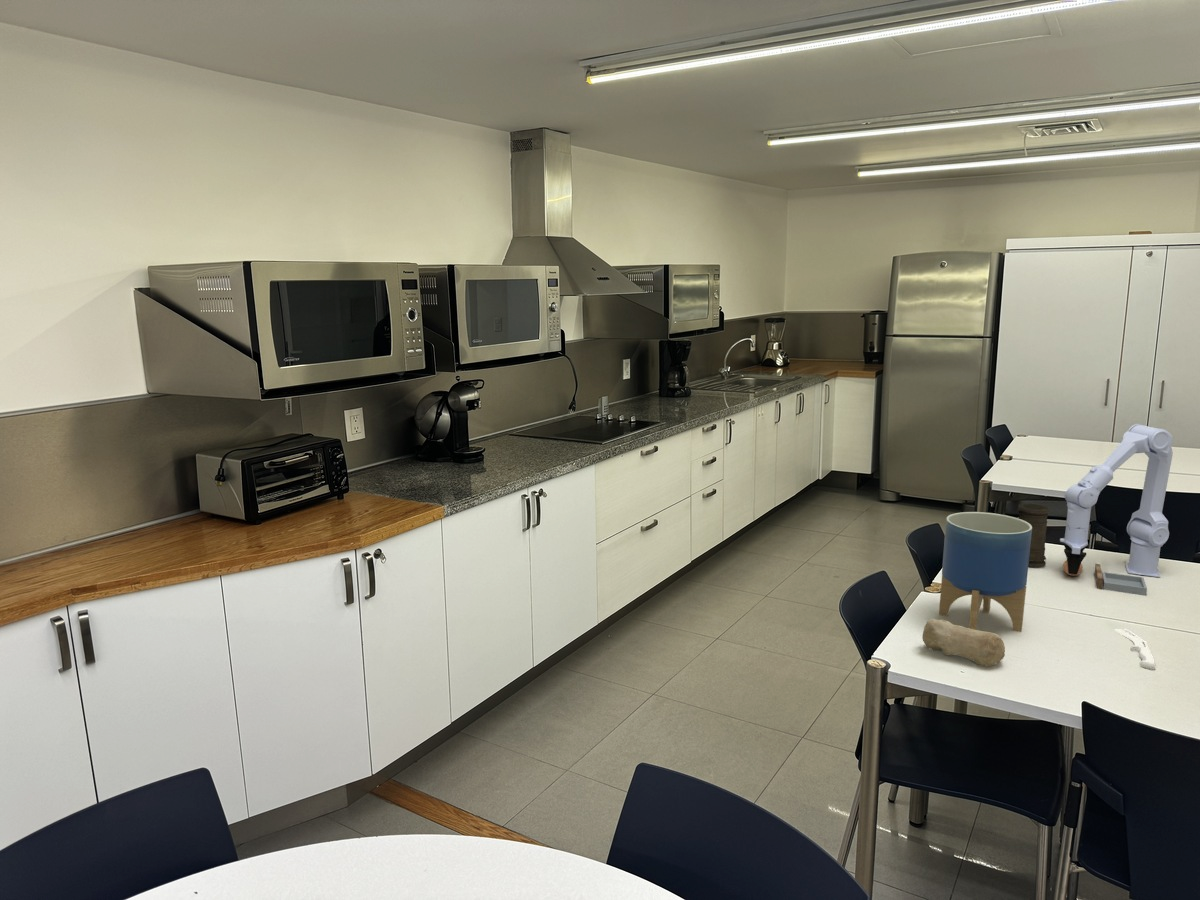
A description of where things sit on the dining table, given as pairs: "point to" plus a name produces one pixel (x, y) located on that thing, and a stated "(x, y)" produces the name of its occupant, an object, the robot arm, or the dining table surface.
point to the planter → (986, 563)
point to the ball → (1065, 567)
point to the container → (1035, 531)
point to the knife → (1139, 649)
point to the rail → (1098, 576)
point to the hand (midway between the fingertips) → (1072, 570)
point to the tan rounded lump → (964, 642)
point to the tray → (1124, 583)
